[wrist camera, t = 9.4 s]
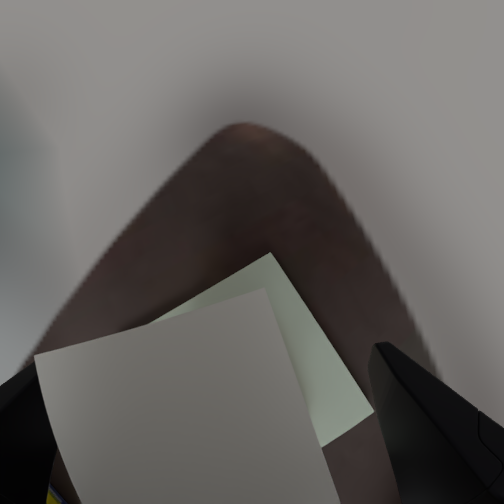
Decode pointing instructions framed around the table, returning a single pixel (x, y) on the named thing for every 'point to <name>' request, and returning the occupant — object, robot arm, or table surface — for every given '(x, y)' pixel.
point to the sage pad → (297, 347)
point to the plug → (186, 412)
